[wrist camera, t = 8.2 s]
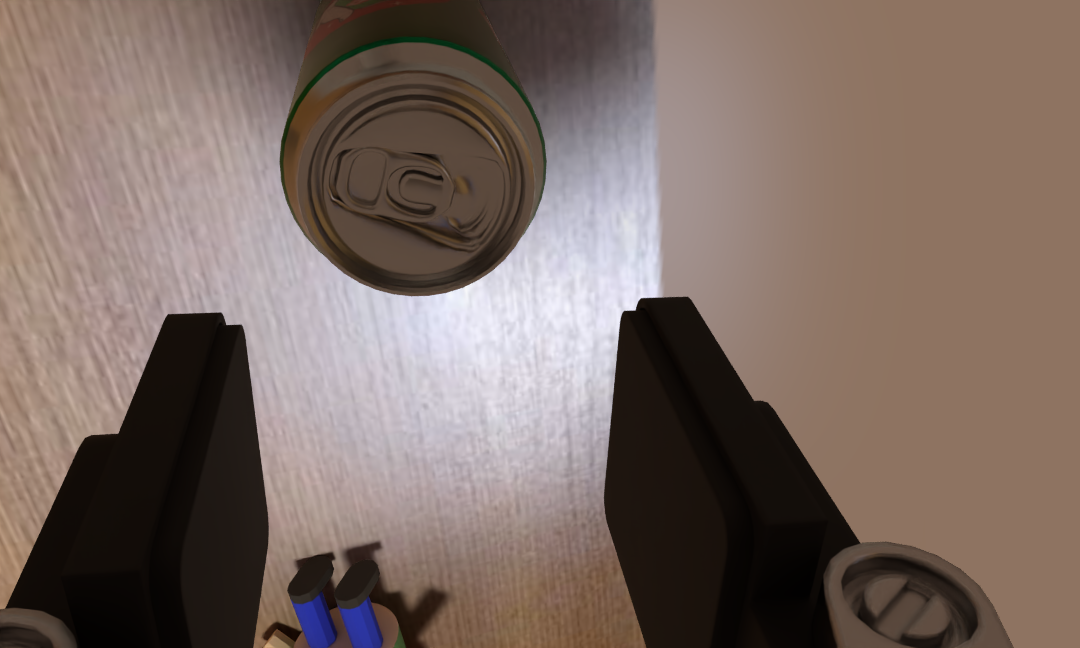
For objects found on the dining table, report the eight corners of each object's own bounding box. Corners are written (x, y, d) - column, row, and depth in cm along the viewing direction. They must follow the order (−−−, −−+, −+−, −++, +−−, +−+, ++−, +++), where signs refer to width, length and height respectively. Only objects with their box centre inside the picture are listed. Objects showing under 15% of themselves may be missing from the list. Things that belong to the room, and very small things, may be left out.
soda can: (465, 144, 29) (513, 335, 19) (299, 105, 28) (253, 287, 17) (508, -22, 27) (591, 92, 17) (331, -74, 26) (300, 16, 15)
